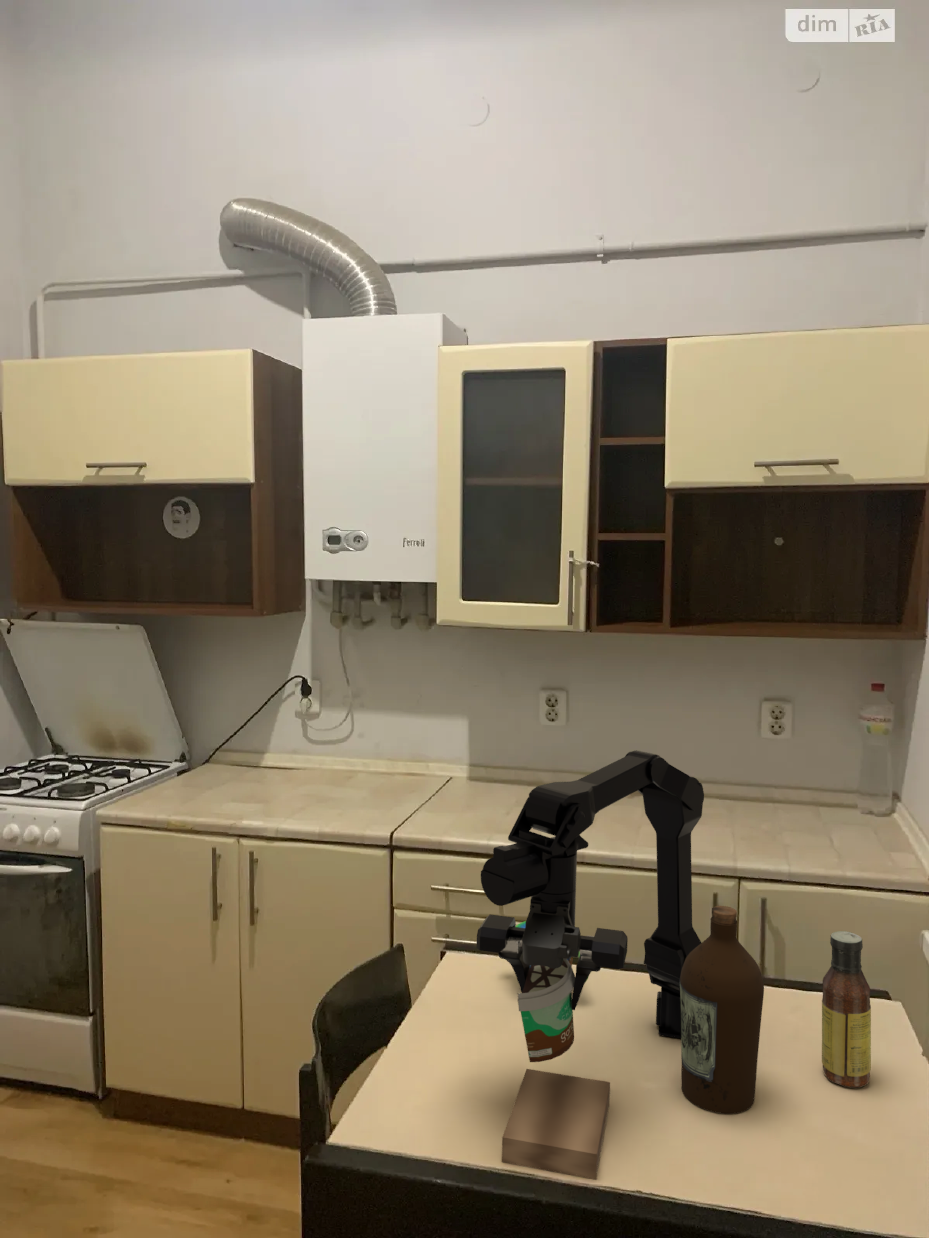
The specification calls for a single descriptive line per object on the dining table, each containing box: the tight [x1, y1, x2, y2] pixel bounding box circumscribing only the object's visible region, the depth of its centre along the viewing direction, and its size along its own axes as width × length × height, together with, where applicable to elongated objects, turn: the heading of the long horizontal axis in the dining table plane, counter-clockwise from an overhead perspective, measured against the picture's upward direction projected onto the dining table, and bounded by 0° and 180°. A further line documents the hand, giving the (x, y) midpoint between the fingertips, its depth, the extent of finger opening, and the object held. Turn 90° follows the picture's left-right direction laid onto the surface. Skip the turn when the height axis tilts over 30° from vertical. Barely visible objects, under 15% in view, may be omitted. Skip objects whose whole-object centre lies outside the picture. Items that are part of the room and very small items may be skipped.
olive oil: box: [680, 905, 765, 1115], centre depth 121 cm, size 11×11×25 cm
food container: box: [517, 958, 576, 1063], centre depth 118 cm, size 12×6×10 cm, turn 166°
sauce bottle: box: [821, 930, 872, 1089], centre depth 125 cm, size 6×6×20 cm
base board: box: [501, 1068, 611, 1180], centre depth 113 cm, size 11×15×3 cm
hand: (550, 1005), depth 118 cm, fingers closed on food container, 6 cm apart
